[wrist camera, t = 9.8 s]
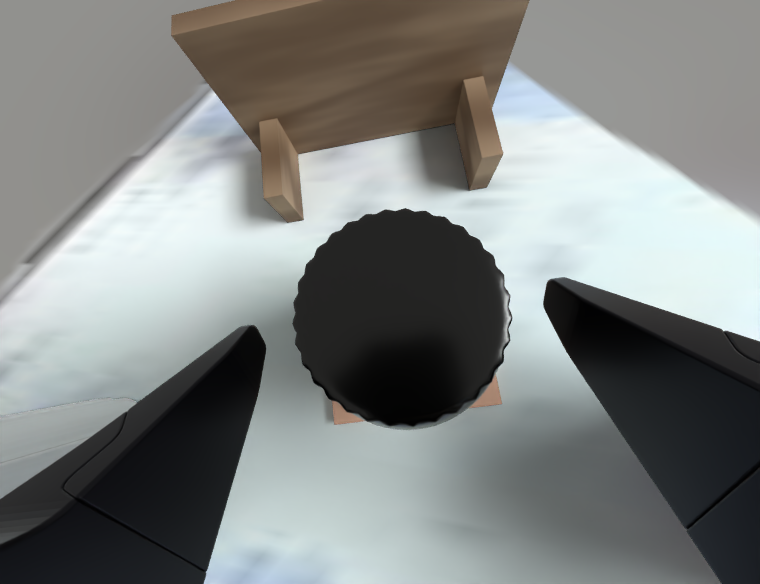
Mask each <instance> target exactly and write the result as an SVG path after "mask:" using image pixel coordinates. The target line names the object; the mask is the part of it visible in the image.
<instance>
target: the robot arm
mask: <svg viewBox="0 0 760 584" xmlns="http://www.w3.org/2000/svg"><path fill="white" fill-rule="evenodd" d="M543 305H544V309H545V311H546V313H547V315H548V317H549V319H550V321H551V323H552V325H553V327H554V329H555V331H556V333H557V335H558V337H559V339H560V341H561V343H562V344H563V346H564V348H565V350H566V352H567V353H568V355H569V356H570V358H571V360H572V361H573V363H574V364H575V366H576V367H577V369H578V370H579V371H580V373H581V374H582V376H583V377H584V379H585V380H586V382H587V383H588V385H589V386H590V388H591V389H592V391H593V392H594V394H595V395H596V397H597V398H598V400H599V401H600V403H601V404H602V406H603V407H604V409H605V410H606V412H607V413H608V415H609V416H610V418H611V419H612V421H613V422H614V424H615V425H616V427H617V428H618V430H619V431H620V433H621V434H622V435H623V437H624V438H625V440H626V441H627V443H628V444H629V446H630V447H631V449H632V450H633V452H634V453H635V455H636V456H637V458H638V459H639V461H640V462H641V464H642V465H643V467H644V468H645V470H646V471H647V473H648V474H649V476H650V477H651V479H652V480H653V482H654V483H655V485H656V486H657V488H658V489H659V491H660V492H661V494H662V495H663V497H664V498H665V499H666V501H667V502H668V504H669V505H670V507H671V508H672V510H673V511H674V513H675V514H676V516H677V517H678V519H679V520H680V522H681V523H682V525H683V526H684V528H686V529H687V533H688V534H689V536H690V537H691V539H692V540H693V542H694V543H695V545H696V546H697V548H698V549H699V551H700V552H701V554H702V555H703V557H704V558H705V560H706V561H707V562H708V564H709V565H710V567H711V568H712V570H713V571H714V573H715V574H716V576H717V577H718V579H719V580H720V582H721V583H722V584H760V341H756V340H753V339H750V338H747V337H744V336H741V335H738V334H735V333H732V332H729V331H723V330H722V329H720V328H717V327H714V326H711V325H708V324H705V323H702V322H699V321H696V320H692V319H689V318H686V317H683V316H680V315H677V314H674V313H671V312H668V311H665V310H662V309H659V308H656V307H653V306H650V305H647V304H644V303H641V302H638V301H635V300H632V299H629V298H626V297H623V296H620V295H617V294H614V293H611V292H608V291H605V290H602V289H599V288H596V287H593V286H590V285H586V284H583V283H580V282H577V281H574V280H571V279H568V278H565V277H561V278H554V279H550V280H549V281H548V282H547V285H546V290H545V296H544V301H543ZM265 354H266V345H265V342H264V340H263V338H262V337H261V335H260V333H259V331H258V329H257V327H256V326H254V325H247V326H241V327H239V328H238V329H237V330H235V331H234V332H232V333H231V334H230V335H228V336H227V337H226V338H224V339H223V340H222V341H220V342H219V343H218V344H216V345H215V346H214V347H212V348H211V349H209V350H208V351H207V352H205V353H204V354H203V355H201V356H200V357H199V358H197V359H196V360H195V361H193V362H192V363H191V364H189V365H188V366H186V367H185V368H184V369H182V370H181V371H180V372H178V373H177V374H176V375H174V376H173V377H172V378H170V379H169V380H168V381H166V382H165V383H163V384H162V385H161V386H159V387H158V388H157V389H155V390H154V391H153V392H151V393H150V394H149V395H147V396H146V397H145V398H143V399H142V400H140V401H139V402H138V403H136V404H135V405H134V406H132V407H131V408H130V409H129V410H128V411H126V412H124V413H123V414H121V415H120V416H119V417H117V418H116V419H115V420H113V421H112V422H111V423H109V424H108V425H106V426H105V427H104V428H102V429H101V430H100V431H98V432H97V433H95V434H94V435H93V436H91V437H90V438H88V439H87V440H86V441H84V442H83V443H81V444H80V445H78V446H77V447H76V448H74V449H73V450H71V451H70V452H68V453H67V454H65V455H64V456H63V457H61V458H60V459H58V460H57V461H55V462H54V463H52V464H51V465H49V466H48V467H46V468H45V469H43V470H42V471H41V472H39V473H38V474H36V475H35V476H33V477H32V478H30V479H29V480H27V481H26V482H24V483H23V484H21V485H20V486H18V487H17V488H16V489H14V490H13V491H11V492H10V493H8V494H7V495H5V496H4V497H2V498H1V499H0V584H204V580H205V577H206V571H207V569H208V566H209V562H210V559H211V555H212V552H213V549H214V545H215V542H216V538H217V535H218V531H219V528H220V524H221V521H222V518H223V514H224V511H225V507H226V504H227V500H228V497H229V493H230V490H231V487H232V483H233V480H234V476H235V473H236V469H237V466H238V463H239V459H240V456H241V452H242V449H243V445H244V442H245V438H246V435H247V432H248V428H249V425H250V421H251V418H252V414H253V411H254V407H255V404H256V401H257V397H258V393H259V388H260V382H261V377H262V371H263V365H264V360H265Z"/></svg>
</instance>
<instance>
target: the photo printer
mask: <svg viewBox="0 0 760 584" xmlns="http://www.w3.org/2000/svg"><path fill="white" fill-rule="evenodd" d="M136 403H137V402H136V401H134V400H132V399H129V398H118V399H113V400H112V399H111V398H99V399H93V400H87V401H82V402H75V403H71V404H65V405H60V406H54V407H49V408H43V409H38V410H32V411H26V412H21V413H15V414H10V415H4V416H0V499H1V498H2V497H4V496H5V495H7V494H8V493H10V492H11V491H13V490H14V489H16V488H17V487H18V486H20V485H21V484H23V483H24V482H26V481H27V480H29V479H30V478H32V477H33V476H35V475H36V474H38V473H39V472H41V471H42V470H43V469H45V468H46V467H48V466H49V465H51V464H52V463H54V462H55V461H57V460H58V459H60V458H61V457H63V456H64V455H65V454H67V453H68V452H70V451H71V450H73V449H74V448H76V447H77V446H78V445H80V444H81V443H83V442H84V441H86V440H87V439H88V438H90V437H91V436H93V435H94V434H95V433H97V432H98V431H100V430H101V429H102V428H104V427H105V426H106V425H108V424H109V423H111V422H112V421H113V420H115V419H116V418H117V417H119V416H120V415H121V414H123V413H124V412H126V411H128V410H129V409H130V408H131V407H132V406H134V405H135V404H136Z"/></svg>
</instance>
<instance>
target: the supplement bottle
mask: <svg viewBox="0 0 760 584" xmlns="http://www.w3.org/2000/svg"><path fill="white" fill-rule="evenodd" d="M509 302H510V294H509V293H508V291H507V290H506V288H505V287H504V274H503V273H502V272H501V271H500V270H499V269H498V268H497V267H496V265H495V259H494V256H493V255H492V254H490V253H489V252H488V251H486V250H484V248H483V246H482V243H481V242H480V240H479V239H477V238H475V237H473V236H470V235H469V234H468V232H467V231H466V230H465V228H464V227H462V226H459V225H455V224H452V223H451V222H450V221H449V220H448V219H447V218H446V217H441V216H433V215H431V214H430V213H429V212H427V211H418V212H414V211H411V210H409V209H406V208H405V209H401V210H398V211H392V210H383V211H381V212H379V213H378V214H366V215H364V216H363V217H362V218H360V219H359V220H358V221H352V222H348V223H347V224H346V225H345V226H344V227H343V228H342V230H340V231H338V232H335V233H332V234H331V235H330V237H329V238H328V240H327V242H326V243H324V244H323V245H321V246H320V247H318V248H317V250H316V253H315V256H314V258H313V259H312V260H310V261H309V262H308V263H307V264H306V268H305V274H304V276H303V277H302V278H301V279H300V281H299V282H298V295H297V297H296V298H295V300H294V309H295V312H296V313H295V317H294V319H293V323H292V324H293V326H294V329H295V331H296V340H295V345H296V346H297V348H298V349H299V351H300V352H301V357H302V364H303V365H304V366H305V368H307V369H308V370H309V371H310V372H311V376H312V379H313V382H314V383H315V384H316V385H318V386H320V387H322V388H323V389H324V391H325V393H326V395H327V397H328V399H330V400H332V401H335V402H338V403H339V404H340V405H341V406H342V407H343V409H344V410H345V411H346V412H348V413H352V414H353V415H355V416H357V417H359V418H360V419H362V420H364V421H367V422H369V423H372V424H374V425H378V426H381V427H385V428H391V429H400V430H414V429H422V428H428V427H432V426H436V425H439V424H441V423H444V422H446V421H448V420H450V419H452V418H454V417H456V416H458V415H459V414H461V413H462V412H464V411H465V410H467V409H468V408H469V407H470V406H472V405H473V404H474V403H475V402H476V401H477V400H478V399H479V398H480V397H481V396H482V394H483V393H484V392H485V391H486V389H487V388H488V386H489V385H490V383H492V380H493V378H494V376H495V374H496V372H497V370H498V367H499V366H500V365H501V364H502V363H503V361H504V354H503V353H504V349H505V348H506V346H507V345H508V343H509V342H510V334H509V331H508V328H509V326H510V324H511V321H512V315H511V312H510V310H509V307H508V306H509Z"/></svg>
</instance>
